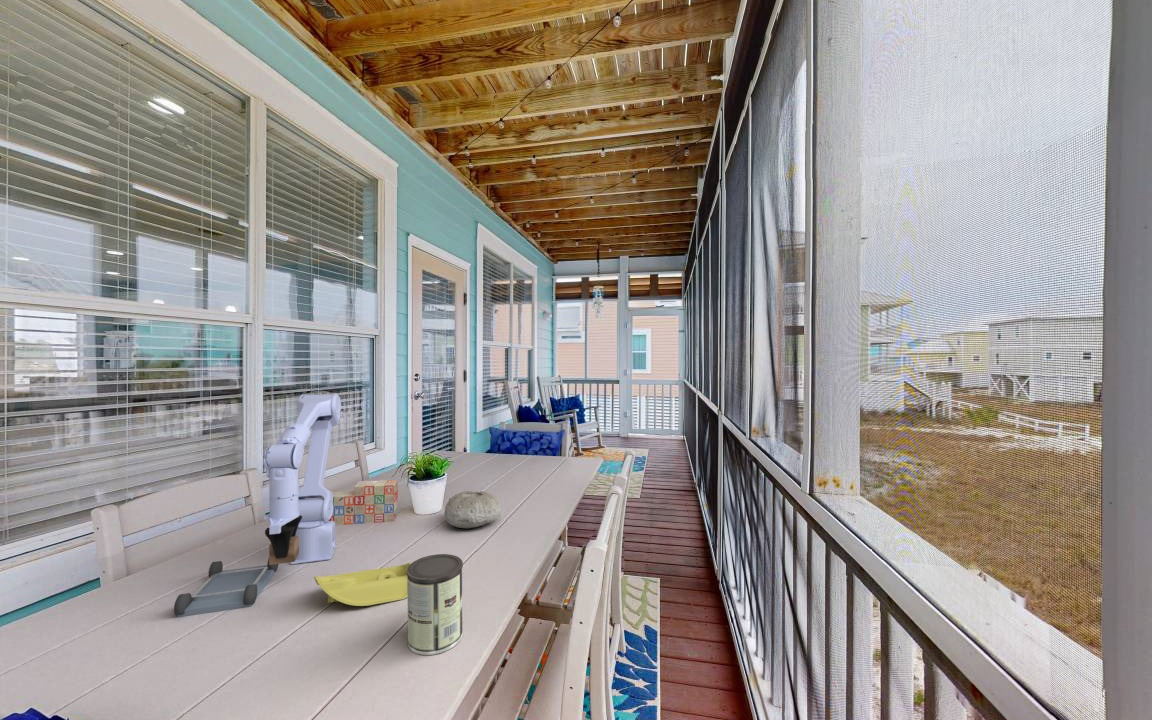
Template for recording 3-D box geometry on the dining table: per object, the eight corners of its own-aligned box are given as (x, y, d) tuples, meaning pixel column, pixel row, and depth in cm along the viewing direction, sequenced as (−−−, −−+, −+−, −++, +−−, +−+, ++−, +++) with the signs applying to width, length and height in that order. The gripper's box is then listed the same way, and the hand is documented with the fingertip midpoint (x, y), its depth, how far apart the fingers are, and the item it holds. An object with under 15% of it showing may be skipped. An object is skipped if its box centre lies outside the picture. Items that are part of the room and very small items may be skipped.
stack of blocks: (322, 526, 143) (322, 487, 143) (329, 519, 149) (329, 482, 149) (394, 522, 147) (394, 484, 147) (398, 515, 153) (398, 479, 153)
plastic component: (405, 564, 112) (413, 561, 104) (405, 598, 109) (413, 597, 101) (313, 578, 102) (314, 575, 94) (310, 615, 99) (312, 615, 91)
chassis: (278, 567, 115) (278, 551, 115) (250, 608, 97) (250, 589, 97) (215, 575, 111) (215, 559, 111) (174, 619, 92) (173, 600, 92)
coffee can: (425, 619, 93) (425, 551, 93) (472, 626, 90) (471, 556, 90) (395, 651, 83) (394, 575, 83) (446, 660, 80) (445, 581, 80)
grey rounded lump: (475, 510, 157) (475, 482, 157) (513, 521, 147) (513, 491, 147) (432, 526, 143) (432, 495, 143) (470, 540, 132) (470, 506, 132)
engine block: (299, 554, 108) (298, 535, 108) (294, 561, 104) (294, 542, 104) (274, 557, 106) (274, 538, 106) (269, 565, 103) (269, 545, 103)
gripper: (274, 488, 111) (274, 542, 111) (252, 507, 97) (253, 569, 97) (306, 485, 113) (307, 539, 113) (290, 503, 99) (290, 565, 99)
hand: (284, 553), depth 105 cm, fingers closed on engine block, 4 cm apart
